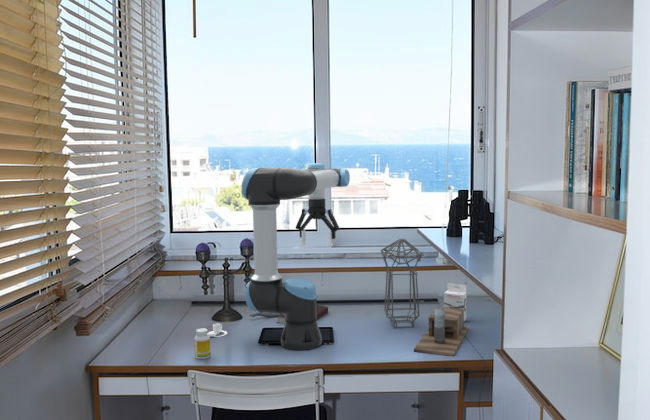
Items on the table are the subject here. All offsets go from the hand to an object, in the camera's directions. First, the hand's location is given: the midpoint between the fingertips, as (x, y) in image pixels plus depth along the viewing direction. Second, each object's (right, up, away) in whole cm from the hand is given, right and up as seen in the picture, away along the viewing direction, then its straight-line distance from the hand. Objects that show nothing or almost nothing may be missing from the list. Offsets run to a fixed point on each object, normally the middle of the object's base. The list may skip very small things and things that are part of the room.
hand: (317, 245), depth 270 cm
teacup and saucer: (-42, -33, -34) cm, 63 cm away
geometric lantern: (+35, -31, -26) cm, 53 cm away
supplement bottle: (-39, -35, -59) cm, 80 cm away
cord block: (+48, -31, -43) cm, 71 cm away
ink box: (+57, -30, -21) cm, 67 cm away
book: (-6, -31, -14) cm, 34 cm away
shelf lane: (+47, -32, -46) cm, 73 cm away
